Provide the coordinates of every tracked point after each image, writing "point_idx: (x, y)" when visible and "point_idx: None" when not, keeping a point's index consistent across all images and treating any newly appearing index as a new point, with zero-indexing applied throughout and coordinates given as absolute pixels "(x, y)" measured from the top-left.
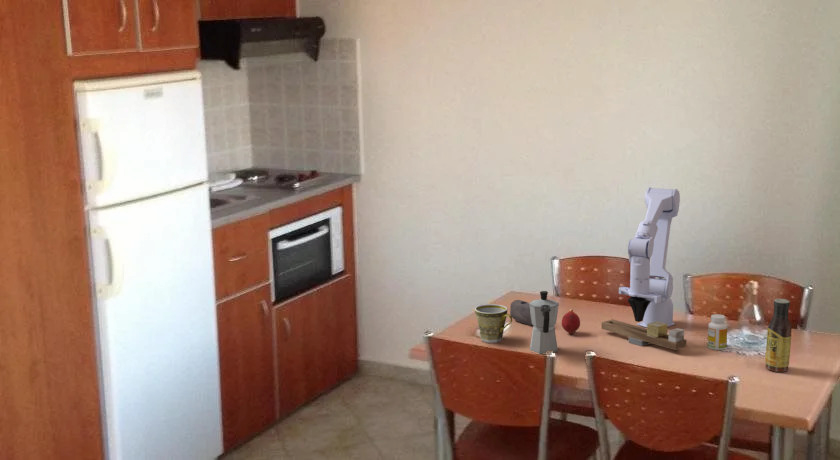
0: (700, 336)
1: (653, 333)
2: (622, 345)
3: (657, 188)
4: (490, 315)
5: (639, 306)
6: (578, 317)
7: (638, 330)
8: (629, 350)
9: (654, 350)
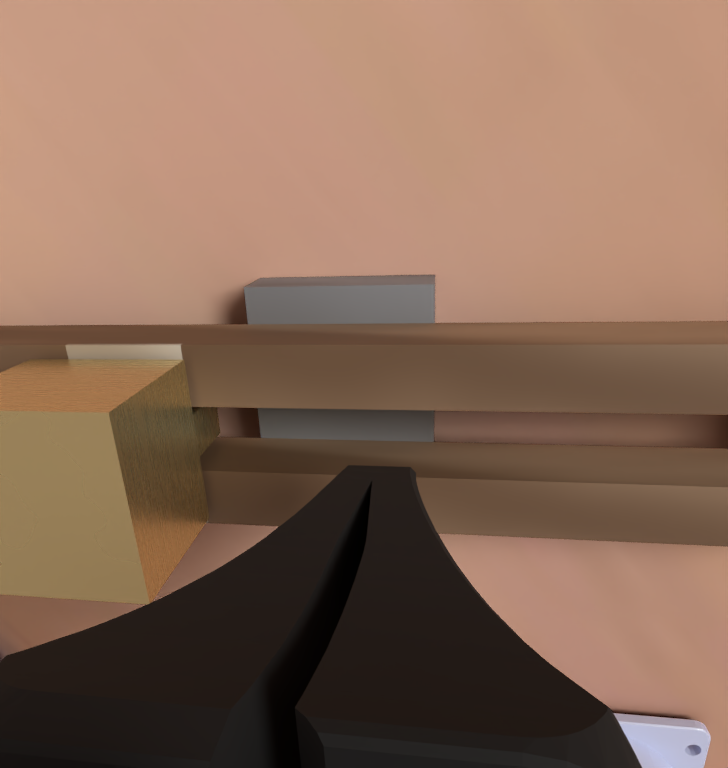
0: None
1: (72, 370)
2: (413, 141)
3: None
4: None
5: (128, 617)
6: None
7: (425, 466)
8: (240, 61)
9: (105, 276)
